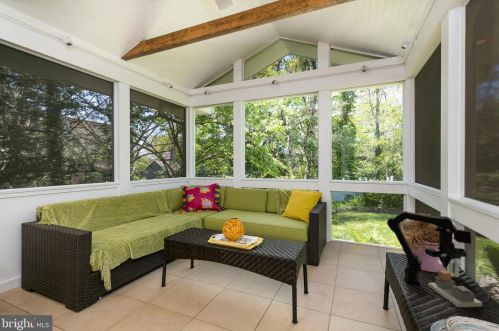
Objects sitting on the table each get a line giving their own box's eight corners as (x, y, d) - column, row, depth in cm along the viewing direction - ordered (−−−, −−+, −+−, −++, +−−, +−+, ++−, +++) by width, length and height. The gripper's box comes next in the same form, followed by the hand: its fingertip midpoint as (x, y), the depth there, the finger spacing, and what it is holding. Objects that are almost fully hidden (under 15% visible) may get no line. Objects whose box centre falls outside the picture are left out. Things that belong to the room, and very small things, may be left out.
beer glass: (463, 278, 142) (463, 254, 142) (449, 277, 143) (449, 253, 143) (455, 272, 149) (455, 249, 148) (442, 272, 150) (442, 249, 150)
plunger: (462, 300, 118) (462, 290, 117) (455, 295, 122) (455, 286, 121) (470, 300, 118) (470, 290, 117) (462, 295, 122) (462, 286, 121)
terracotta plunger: (444, 282, 128) (444, 273, 128) (438, 278, 132) (438, 270, 132) (451, 282, 128) (451, 273, 128) (445, 278, 132) (445, 269, 132)
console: (457, 307, 116) (457, 295, 115) (428, 286, 135) (428, 275, 134) (482, 306, 116) (482, 294, 115) (449, 285, 135) (449, 275, 134)
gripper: (439, 245, 121) (439, 275, 122) (476, 245, 121) (475, 274, 122) (424, 238, 132) (424, 265, 133) (457, 237, 132) (457, 264, 133)
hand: (445, 267), depth 130 cm, fingers closed
